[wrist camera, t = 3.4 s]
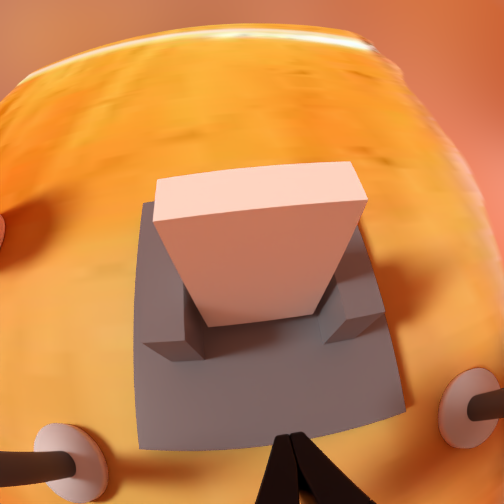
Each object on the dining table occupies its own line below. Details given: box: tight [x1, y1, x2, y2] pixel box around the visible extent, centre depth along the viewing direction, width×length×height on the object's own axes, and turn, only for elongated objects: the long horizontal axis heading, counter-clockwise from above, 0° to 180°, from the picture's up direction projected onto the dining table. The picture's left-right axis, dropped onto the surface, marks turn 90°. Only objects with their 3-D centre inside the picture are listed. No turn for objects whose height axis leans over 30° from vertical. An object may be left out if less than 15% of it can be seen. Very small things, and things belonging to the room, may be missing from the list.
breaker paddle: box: [153, 162, 368, 327], centre depth 12 cm, size 2×6×10 cm, turn 97°
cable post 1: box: [0, 423, 109, 503], centre depth 8 cm, size 6×6×10 cm
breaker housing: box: [134, 201, 406, 451], centre depth 16 cm, size 18×16×6 cm
